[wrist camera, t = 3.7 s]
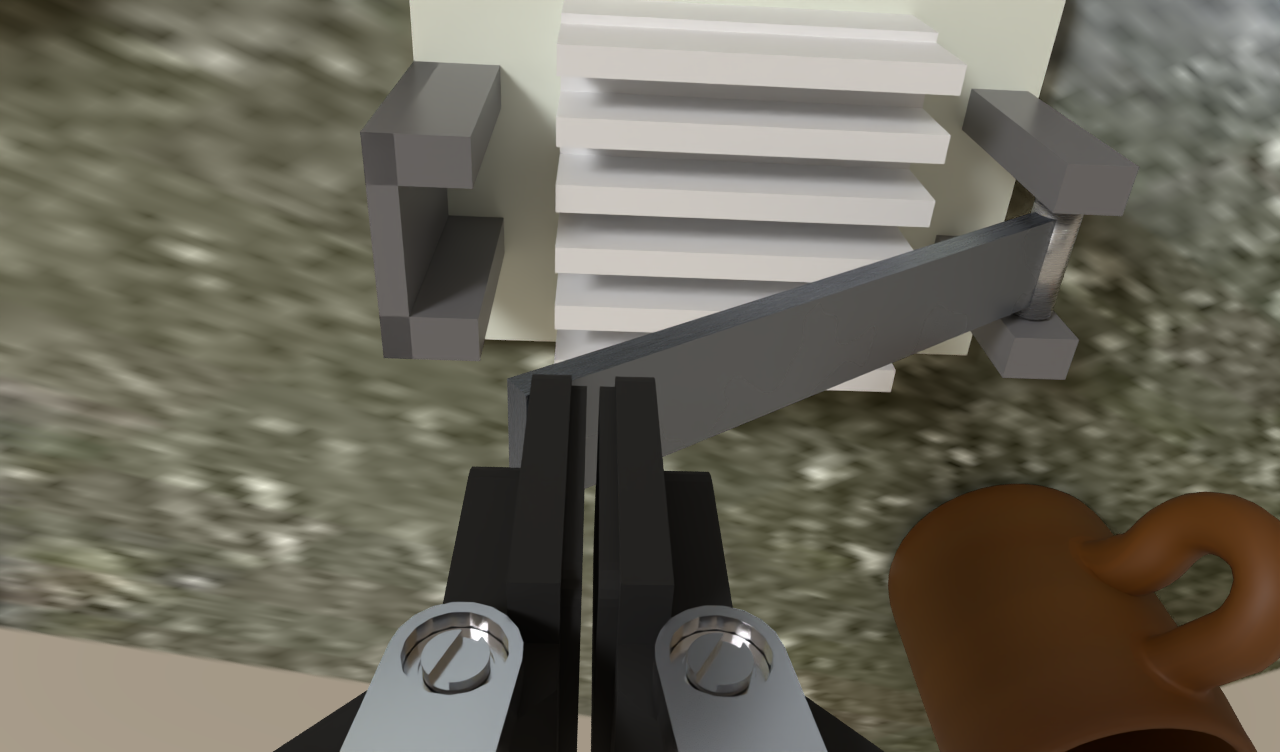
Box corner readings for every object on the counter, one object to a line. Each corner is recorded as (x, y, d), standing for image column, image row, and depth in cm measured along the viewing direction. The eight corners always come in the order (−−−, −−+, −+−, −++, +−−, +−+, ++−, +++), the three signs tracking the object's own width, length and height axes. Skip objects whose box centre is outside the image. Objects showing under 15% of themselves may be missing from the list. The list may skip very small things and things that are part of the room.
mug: (1027, 332, 27) (1203, 553, 19) (1236, 403, 29) (1479, 634, 21) (843, 610, 33) (918, 869, 25) (1025, 656, 34) (1151, 914, 26)
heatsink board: (1054, -31, 22) (1205, 25, 16) (955, 337, 27) (1044, 474, 22) (413, -67, 21) (344, -21, 16) (439, 320, 26) (394, 457, 21)
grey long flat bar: (1053, 186, 20) (1096, 201, 19) (1020, 295, 21) (1060, 312, 20) (497, 351, 13) (535, 385, 12) (502, 500, 14) (537, 537, 13)
